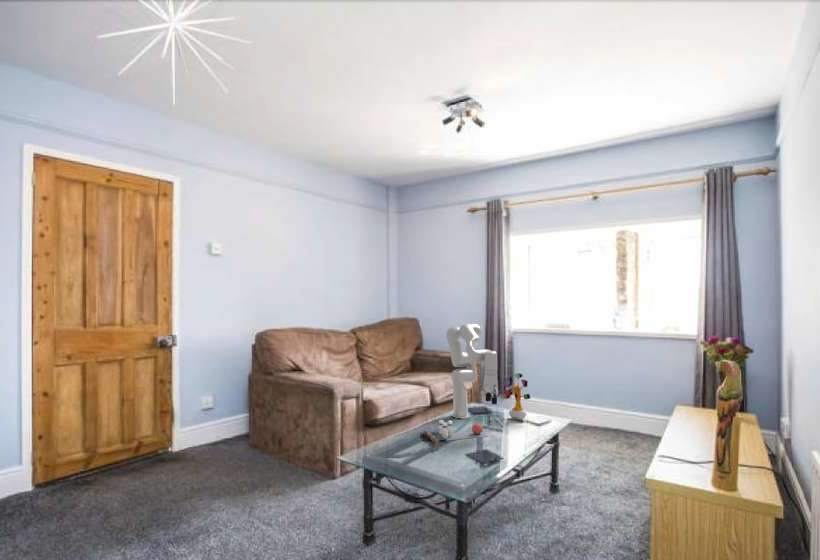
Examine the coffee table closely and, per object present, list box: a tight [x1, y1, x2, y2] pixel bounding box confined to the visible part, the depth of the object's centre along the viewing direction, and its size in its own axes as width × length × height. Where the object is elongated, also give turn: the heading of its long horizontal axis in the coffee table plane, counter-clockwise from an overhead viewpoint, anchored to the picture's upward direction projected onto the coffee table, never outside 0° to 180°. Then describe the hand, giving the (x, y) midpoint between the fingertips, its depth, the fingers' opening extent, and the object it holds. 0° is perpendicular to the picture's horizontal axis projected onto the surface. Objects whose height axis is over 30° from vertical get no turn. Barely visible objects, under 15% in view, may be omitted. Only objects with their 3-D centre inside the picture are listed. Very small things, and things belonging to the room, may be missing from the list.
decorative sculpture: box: [503, 373, 531, 421], centre depth 286 cm, size 20×8×30 cm, turn 37°
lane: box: [445, 430, 488, 442], centre depth 253 cm, size 11×30×1 cm, turn 107°
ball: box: [471, 423, 483, 435], centre depth 256 cm, size 6×6×6 cm
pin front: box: [447, 420, 453, 437], centre depth 251 cm, size 2×2×9 cm
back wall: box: [423, 429, 440, 446], centre depth 248 cm, size 20×2×2 cm, turn 17°
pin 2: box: [442, 422, 448, 439], centre depth 247 cm, size 2×2×9 cm
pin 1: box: [438, 419, 444, 435], centre depth 252 cm, size 2×2×9 cm
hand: (491, 402), depth 259 cm, fingers open, 6 cm apart
